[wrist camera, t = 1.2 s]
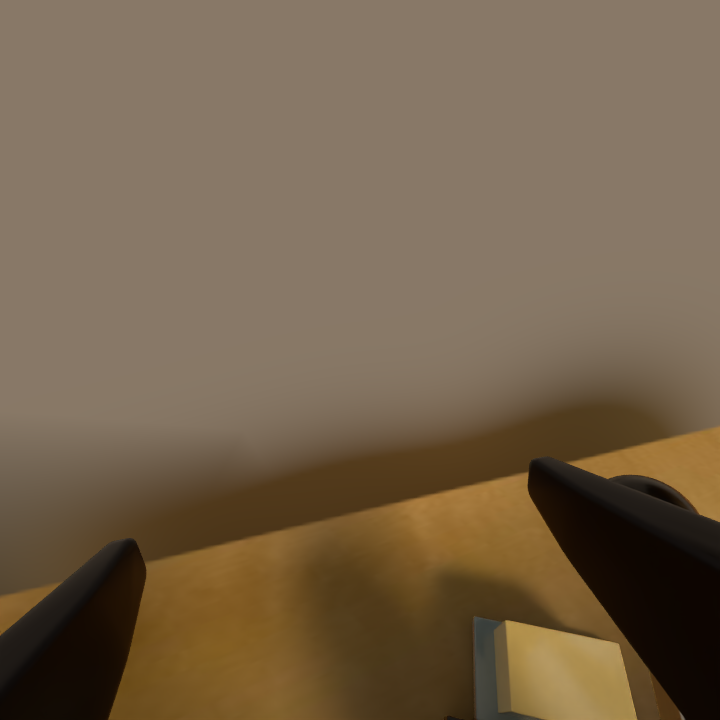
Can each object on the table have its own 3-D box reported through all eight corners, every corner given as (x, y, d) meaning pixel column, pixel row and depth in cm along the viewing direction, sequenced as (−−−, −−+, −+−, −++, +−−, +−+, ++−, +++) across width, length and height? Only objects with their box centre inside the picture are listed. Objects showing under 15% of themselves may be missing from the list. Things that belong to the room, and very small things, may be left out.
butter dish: (472, 618, 19) (483, 604, 17) (608, 647, 18) (639, 636, 16) (473, 720, 16) (487, 719, 14) (634, 761, 15) (675, 766, 13)
